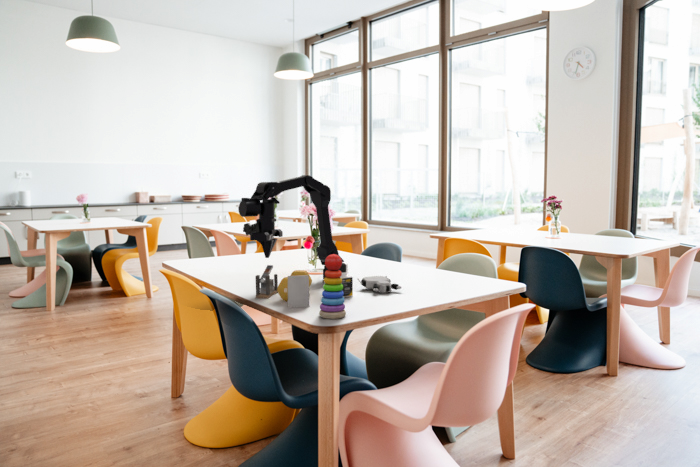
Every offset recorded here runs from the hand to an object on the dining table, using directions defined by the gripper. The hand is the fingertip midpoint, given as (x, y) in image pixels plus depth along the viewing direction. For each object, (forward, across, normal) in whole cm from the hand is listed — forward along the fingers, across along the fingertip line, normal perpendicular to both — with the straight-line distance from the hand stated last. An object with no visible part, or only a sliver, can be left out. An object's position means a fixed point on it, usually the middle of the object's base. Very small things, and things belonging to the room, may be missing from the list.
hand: (267, 257), depth 193 cm
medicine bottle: (+13, +4, +28) cm, 31 cm away
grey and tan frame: (+13, +7, +3) cm, 15 cm away
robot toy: (+13, -8, +41) cm, 44 cm away
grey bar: (+5, +8, +3) cm, 10 cm away
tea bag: (+13, +22, +19) cm, 32 cm away
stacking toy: (+13, +34, +33) cm, 49 cm away
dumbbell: (+13, +7, +13) cm, 20 cm away
